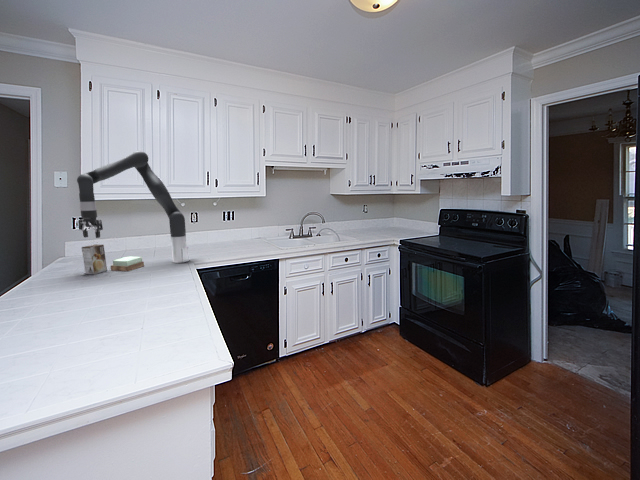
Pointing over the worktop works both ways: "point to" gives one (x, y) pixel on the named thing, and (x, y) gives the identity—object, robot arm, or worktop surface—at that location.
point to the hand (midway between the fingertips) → (91, 237)
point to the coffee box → (94, 259)
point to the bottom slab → (127, 267)
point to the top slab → (127, 261)
